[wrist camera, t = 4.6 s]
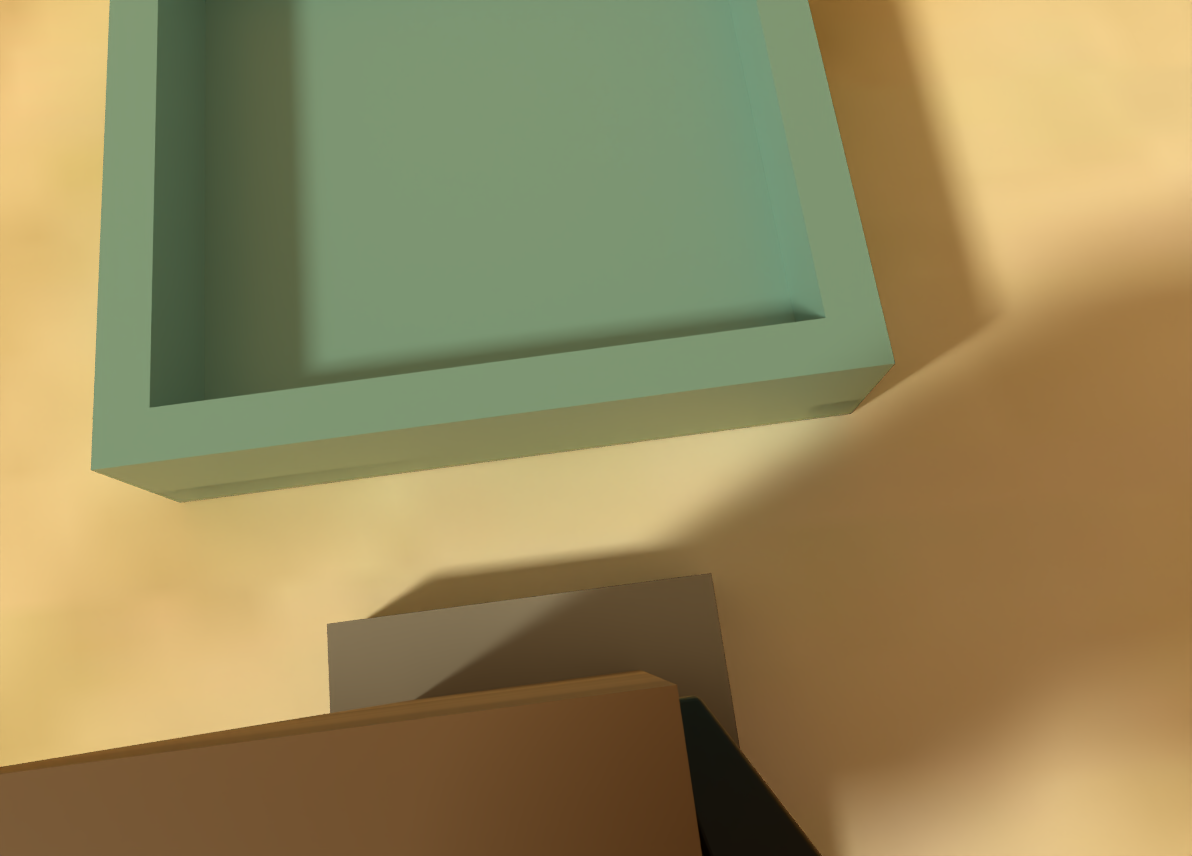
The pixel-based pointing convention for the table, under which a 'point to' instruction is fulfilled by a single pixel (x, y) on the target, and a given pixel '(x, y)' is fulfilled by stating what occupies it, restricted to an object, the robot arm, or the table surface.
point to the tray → (465, 235)
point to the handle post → (426, 744)
